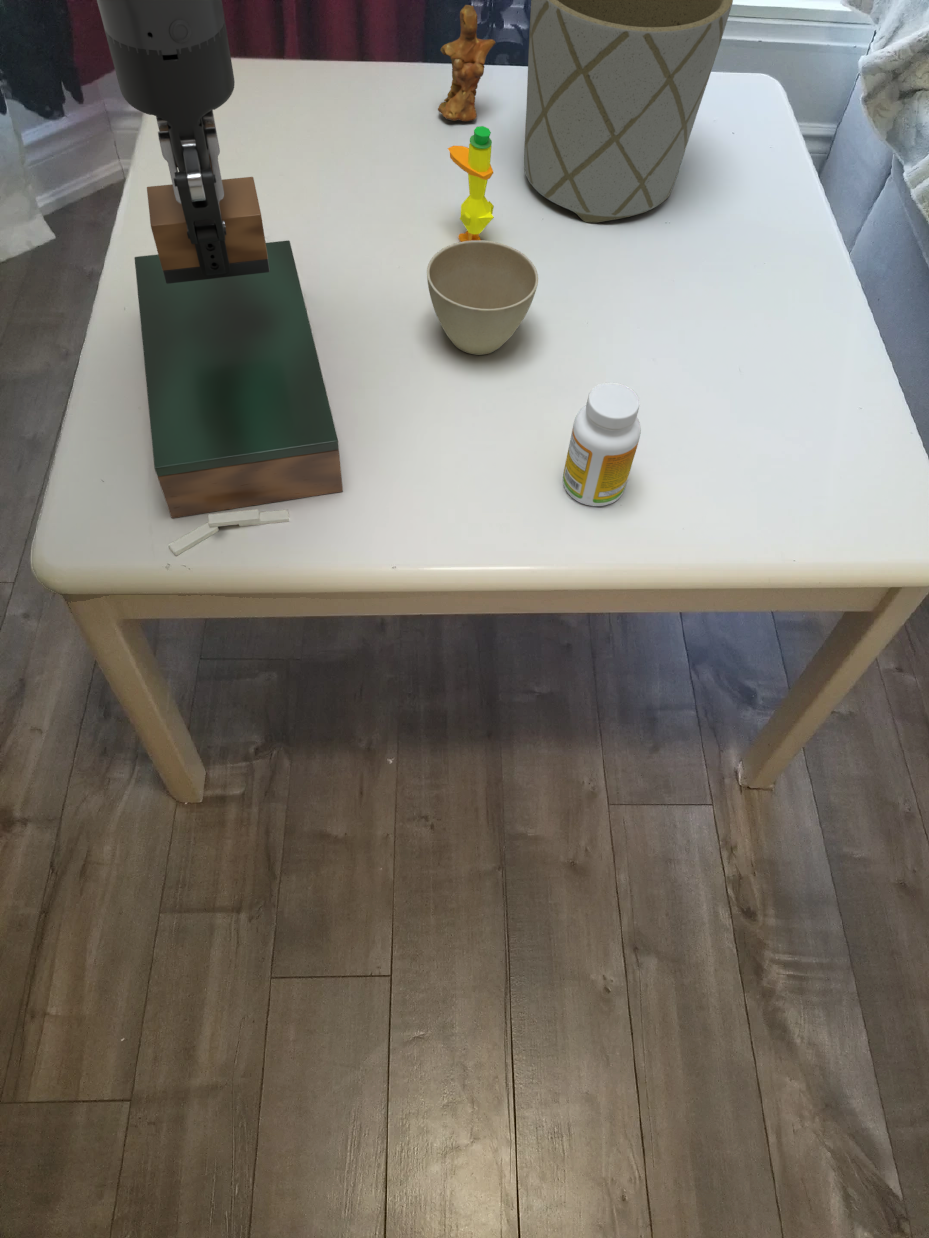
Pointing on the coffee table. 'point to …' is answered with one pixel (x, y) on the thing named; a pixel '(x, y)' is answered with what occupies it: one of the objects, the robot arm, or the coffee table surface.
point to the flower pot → (480, 293)
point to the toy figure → (475, 182)
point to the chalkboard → (235, 389)
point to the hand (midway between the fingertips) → (212, 251)
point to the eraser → (241, 235)
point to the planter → (615, 98)
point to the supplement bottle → (602, 445)
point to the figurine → (465, 68)
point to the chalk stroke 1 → (192, 538)
